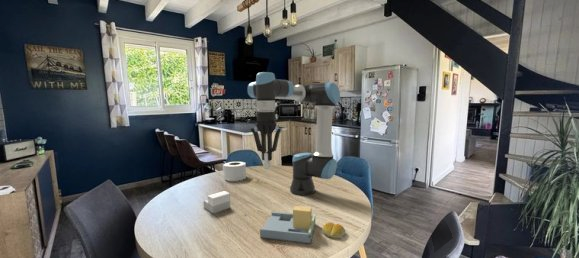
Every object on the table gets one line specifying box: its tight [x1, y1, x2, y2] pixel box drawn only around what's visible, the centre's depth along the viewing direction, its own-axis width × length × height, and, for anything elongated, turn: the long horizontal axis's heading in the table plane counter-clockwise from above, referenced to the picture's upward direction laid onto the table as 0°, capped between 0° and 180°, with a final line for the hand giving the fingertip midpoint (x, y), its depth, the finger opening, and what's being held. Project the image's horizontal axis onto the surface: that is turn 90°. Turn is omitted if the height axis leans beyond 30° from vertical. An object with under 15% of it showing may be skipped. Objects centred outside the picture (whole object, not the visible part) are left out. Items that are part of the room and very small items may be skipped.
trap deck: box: [259, 211, 316, 245], centre depth 102 cm, size 20×16×4 cm
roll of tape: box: [223, 161, 247, 182], centre depth 175 cm, size 16×15×11 cm
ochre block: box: [292, 205, 313, 229], centre depth 100 cm, size 7×4×8 cm, turn 76°
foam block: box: [202, 190, 231, 214], centre depth 125 cm, size 10×10×8 cm
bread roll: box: [322, 222, 346, 240], centre depth 99 cm, size 8×9×4 cm
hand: (267, 167), depth 101 cm, fingers closed
